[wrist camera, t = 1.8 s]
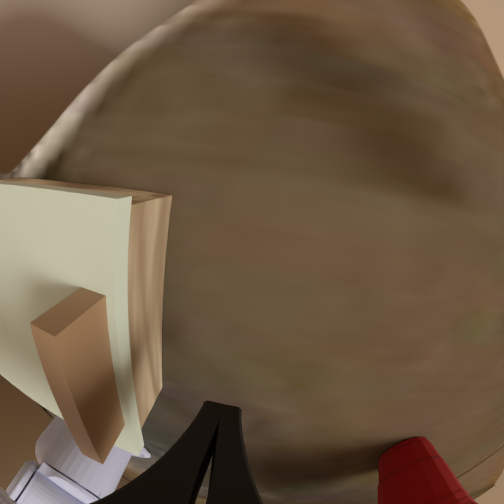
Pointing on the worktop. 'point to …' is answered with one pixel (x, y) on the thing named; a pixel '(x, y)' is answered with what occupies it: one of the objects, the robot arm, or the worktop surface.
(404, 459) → the plastic cup
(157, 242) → the storage box
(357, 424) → the worktop surface
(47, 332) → the lid
